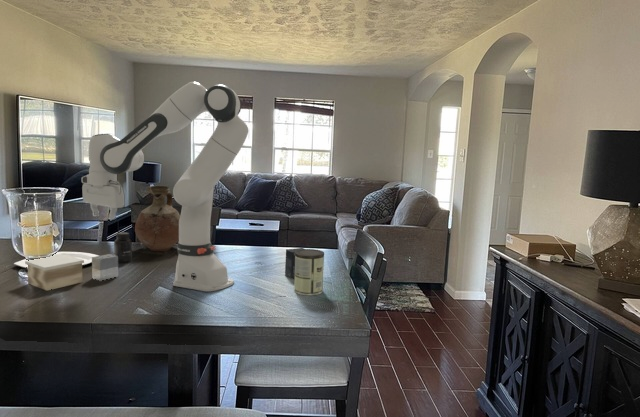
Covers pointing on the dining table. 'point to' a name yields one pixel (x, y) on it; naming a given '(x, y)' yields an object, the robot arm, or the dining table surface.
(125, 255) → the supplement bottle
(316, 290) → the coffee can
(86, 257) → the plate
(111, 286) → the dining table surface
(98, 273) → the block
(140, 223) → the jug
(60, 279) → the stand
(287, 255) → the box
